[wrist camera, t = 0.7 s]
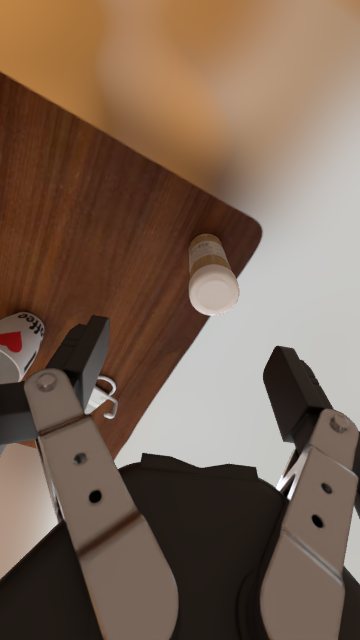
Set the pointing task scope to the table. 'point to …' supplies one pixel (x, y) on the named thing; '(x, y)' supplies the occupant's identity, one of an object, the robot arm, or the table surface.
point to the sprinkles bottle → (211, 277)
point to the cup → (18, 345)
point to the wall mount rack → (101, 398)
